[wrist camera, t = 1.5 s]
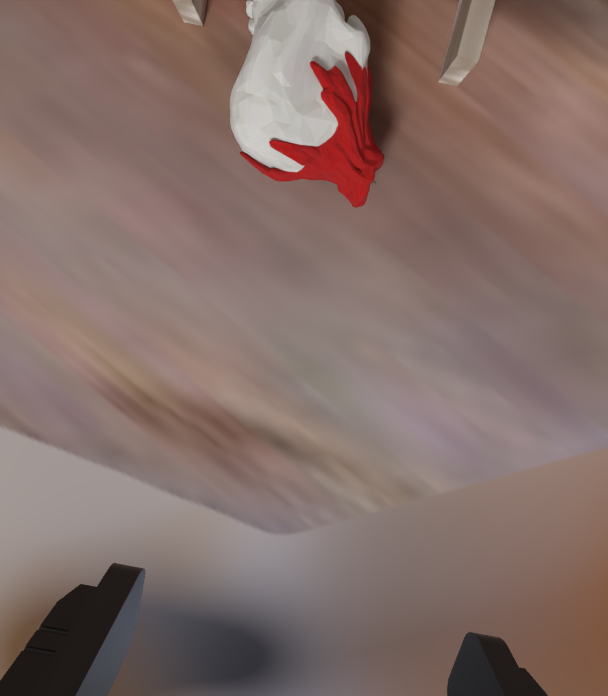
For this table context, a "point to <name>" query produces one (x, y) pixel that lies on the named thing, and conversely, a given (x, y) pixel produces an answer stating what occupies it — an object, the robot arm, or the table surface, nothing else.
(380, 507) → the table surface
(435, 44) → the table surface
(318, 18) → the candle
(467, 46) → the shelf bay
